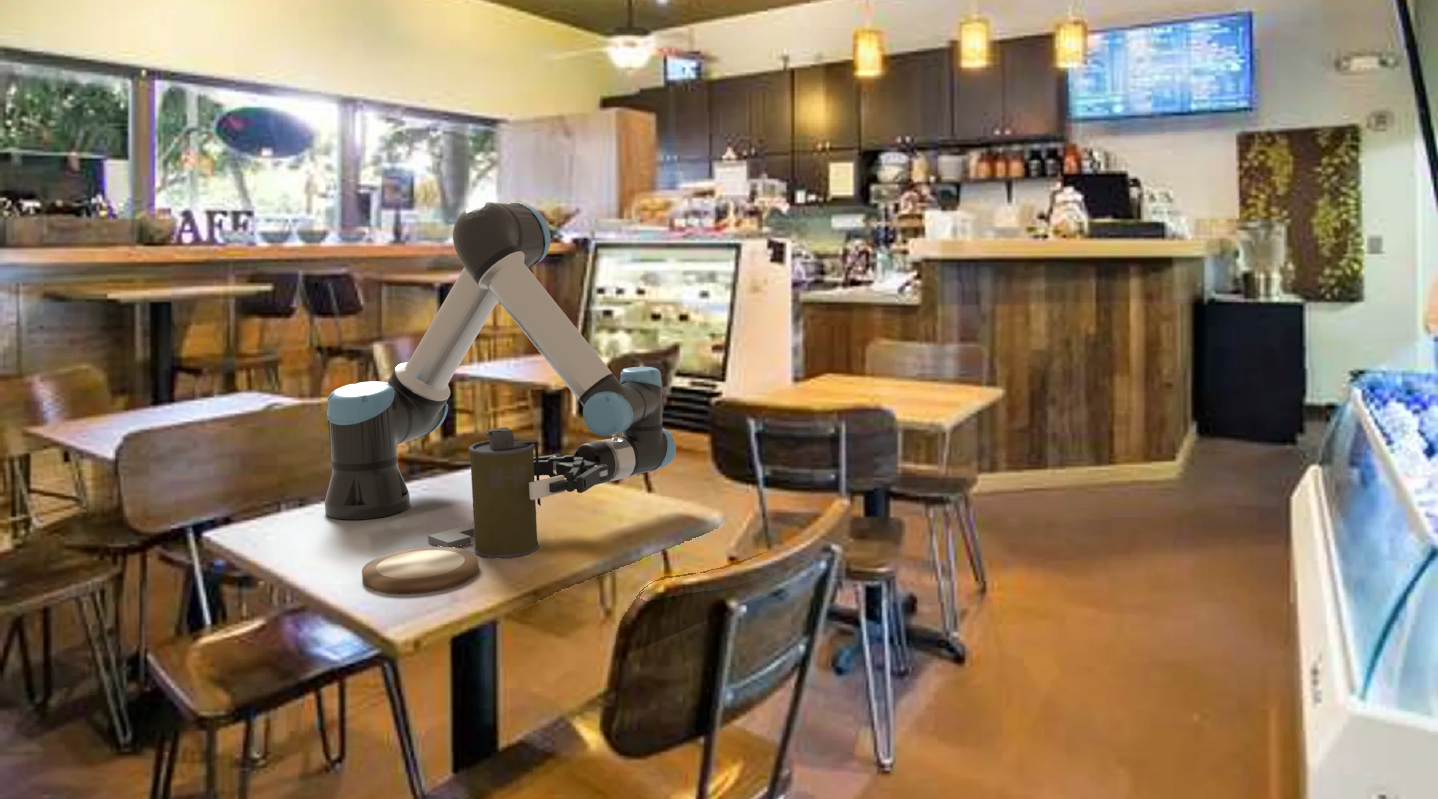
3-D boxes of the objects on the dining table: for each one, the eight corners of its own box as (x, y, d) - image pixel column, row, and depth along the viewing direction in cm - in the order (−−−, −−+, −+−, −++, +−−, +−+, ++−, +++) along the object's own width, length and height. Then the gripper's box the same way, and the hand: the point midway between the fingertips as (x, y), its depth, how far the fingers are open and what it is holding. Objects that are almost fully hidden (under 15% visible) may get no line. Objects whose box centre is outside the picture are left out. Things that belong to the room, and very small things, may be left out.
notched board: (428, 542, 168) (428, 535, 167) (486, 526, 176) (486, 520, 176) (448, 549, 164) (447, 542, 163) (507, 533, 172) (506, 526, 172)
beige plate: (341, 575, 152) (340, 565, 152) (439, 548, 164) (439, 539, 164) (400, 602, 140) (399, 591, 140) (500, 571, 153) (500, 561, 153)
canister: (480, 562, 157) (474, 438, 154) (469, 544, 167) (462, 426, 163) (548, 553, 161) (543, 431, 158) (533, 535, 171) (528, 420, 167)
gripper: (557, 431, 185) (459, 451, 170) (652, 450, 169) (552, 473, 153) (559, 471, 186) (462, 493, 171) (652, 493, 170) (554, 520, 154)
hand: (504, 484), depth 162 cm, fingers open, 13 cm apart
